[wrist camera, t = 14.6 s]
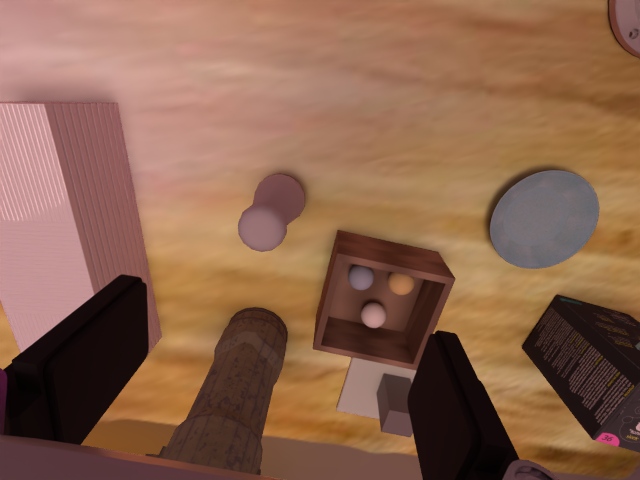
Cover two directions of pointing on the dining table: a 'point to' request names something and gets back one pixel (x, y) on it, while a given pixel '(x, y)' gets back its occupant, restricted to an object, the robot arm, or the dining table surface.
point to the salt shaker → (271, 212)
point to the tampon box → (592, 367)
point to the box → (381, 301)
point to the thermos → (233, 396)
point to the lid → (378, 394)
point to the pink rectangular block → (65, 213)
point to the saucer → (544, 219)
